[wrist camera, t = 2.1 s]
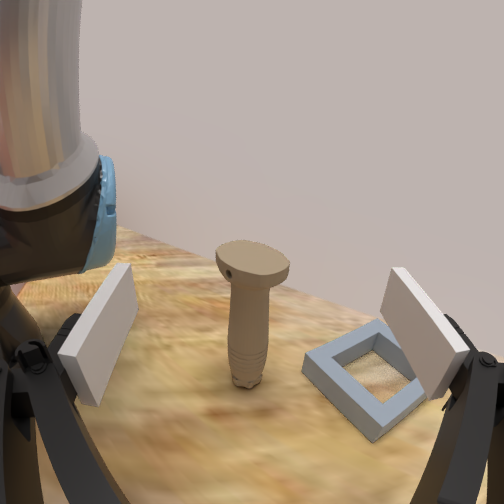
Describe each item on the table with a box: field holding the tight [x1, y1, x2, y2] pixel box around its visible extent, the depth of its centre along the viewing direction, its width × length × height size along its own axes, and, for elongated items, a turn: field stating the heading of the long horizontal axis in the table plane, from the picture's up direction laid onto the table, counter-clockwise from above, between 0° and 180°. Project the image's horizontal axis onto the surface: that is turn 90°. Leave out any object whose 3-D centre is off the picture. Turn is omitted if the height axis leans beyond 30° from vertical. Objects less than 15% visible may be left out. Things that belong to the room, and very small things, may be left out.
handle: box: [216, 240, 290, 389], centre depth 29 cm, size 5×6×15 cm
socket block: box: [302, 318, 427, 443], centre depth 31 cm, size 12×12×3 cm
